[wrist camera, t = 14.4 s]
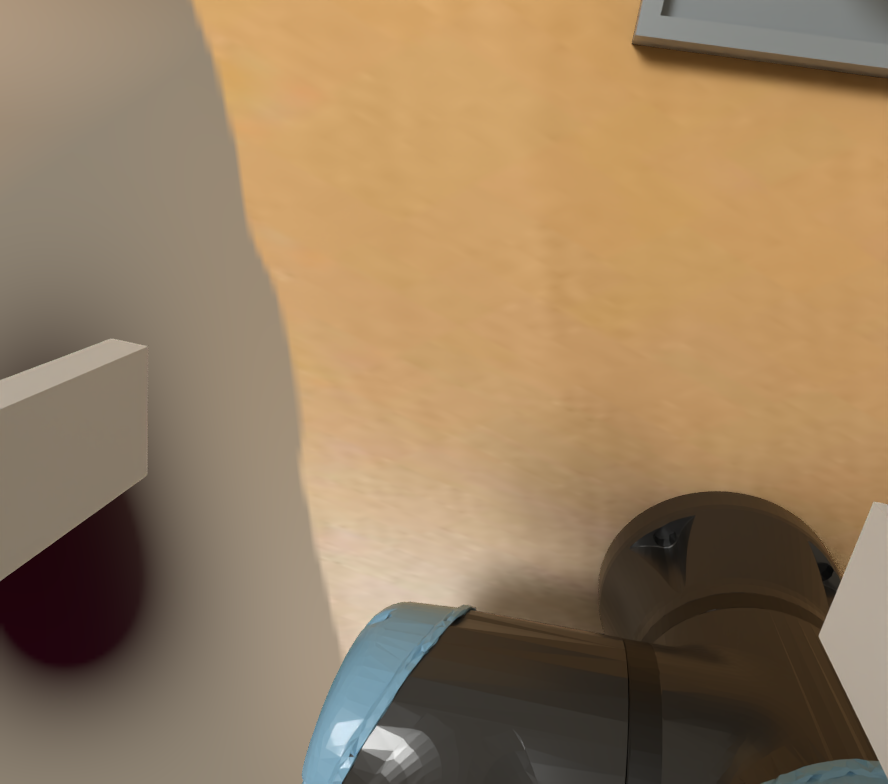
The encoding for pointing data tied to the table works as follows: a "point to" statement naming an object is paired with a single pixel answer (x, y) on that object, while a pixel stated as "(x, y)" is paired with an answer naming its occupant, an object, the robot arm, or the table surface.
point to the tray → (773, 31)
